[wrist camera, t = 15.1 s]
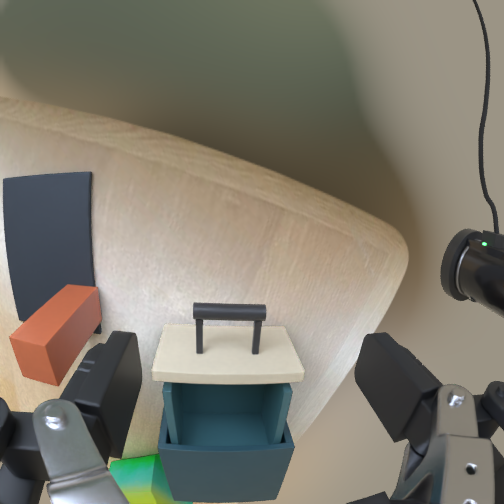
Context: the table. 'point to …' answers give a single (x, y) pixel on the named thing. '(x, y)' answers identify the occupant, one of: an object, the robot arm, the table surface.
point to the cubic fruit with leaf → (143, 480)
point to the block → (57, 333)
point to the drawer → (226, 377)
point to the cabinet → (224, 469)
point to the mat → (47, 236)
